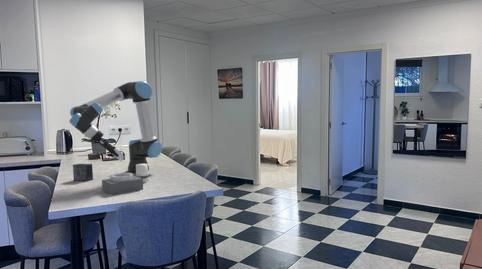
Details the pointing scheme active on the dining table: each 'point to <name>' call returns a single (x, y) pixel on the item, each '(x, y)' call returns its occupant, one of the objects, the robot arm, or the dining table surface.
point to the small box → (82, 172)
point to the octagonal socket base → (122, 183)
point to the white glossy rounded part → (142, 172)
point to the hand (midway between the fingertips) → (122, 158)
